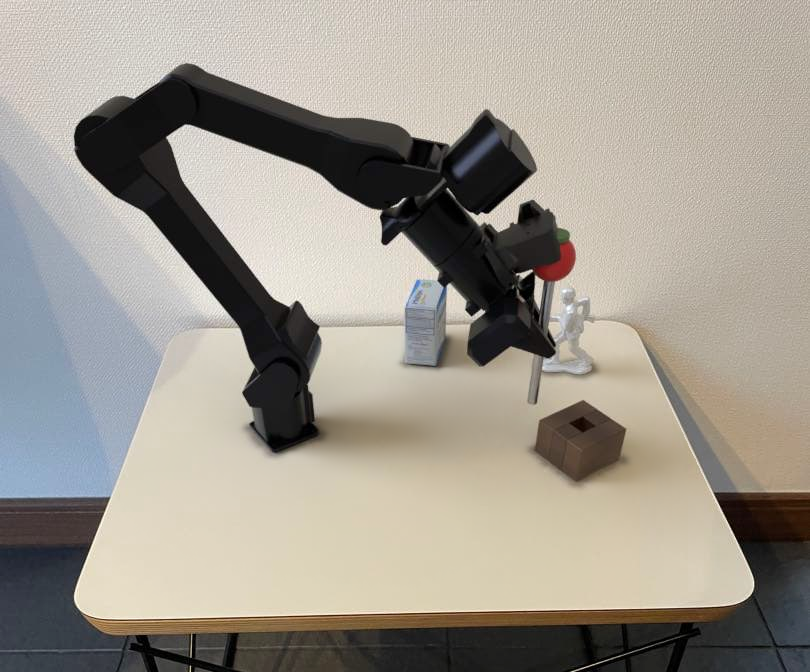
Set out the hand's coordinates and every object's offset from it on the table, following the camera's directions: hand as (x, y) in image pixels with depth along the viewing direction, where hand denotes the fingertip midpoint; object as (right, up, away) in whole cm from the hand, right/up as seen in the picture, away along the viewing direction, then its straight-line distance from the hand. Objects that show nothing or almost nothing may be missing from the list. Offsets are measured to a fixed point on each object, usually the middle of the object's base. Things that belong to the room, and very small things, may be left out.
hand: (552, 351), depth 81 cm
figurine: (+5, +3, +22) cm, 23 cm away
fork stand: (+5, -10, +9) cm, 14 cm away
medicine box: (-13, +6, +26) cm, 29 cm away
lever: (-1, -4, +5) cm, 7 cm away
